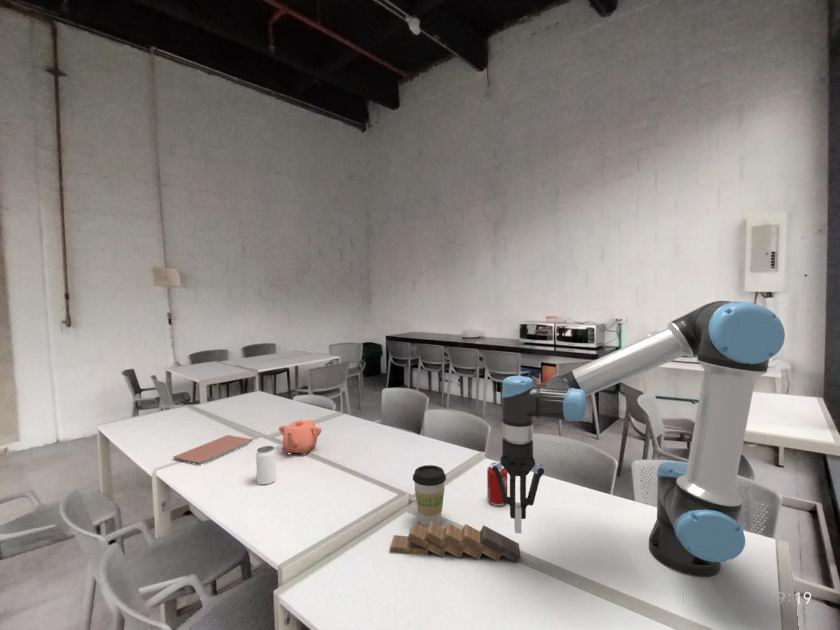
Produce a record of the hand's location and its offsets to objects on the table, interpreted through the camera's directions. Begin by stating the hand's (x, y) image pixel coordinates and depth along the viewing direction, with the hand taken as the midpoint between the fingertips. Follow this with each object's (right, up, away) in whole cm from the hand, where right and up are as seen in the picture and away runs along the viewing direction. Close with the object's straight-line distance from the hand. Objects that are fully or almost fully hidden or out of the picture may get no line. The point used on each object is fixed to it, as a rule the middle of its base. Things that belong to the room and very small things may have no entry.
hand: (517, 530), depth 101 cm
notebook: (-114, -5, +73) cm, 136 cm away
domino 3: (-14, -6, +2) cm, 15 cm away
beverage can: (0, -6, +27) cm, 27 cm away
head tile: (0, -6, 0) cm, 6 cm away
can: (-80, -6, +44) cm, 92 cm away
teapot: (-77, -5, +71) cm, 105 cm away
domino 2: (-18, -6, +3) cm, 19 cm away
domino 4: (-9, -6, +2) cm, 11 cm away
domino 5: (-5, -6, +1) cm, 8 cm away
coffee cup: (-22, -7, +17) cm, 28 cm away
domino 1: (-22, -7, +4) cm, 24 cm away
